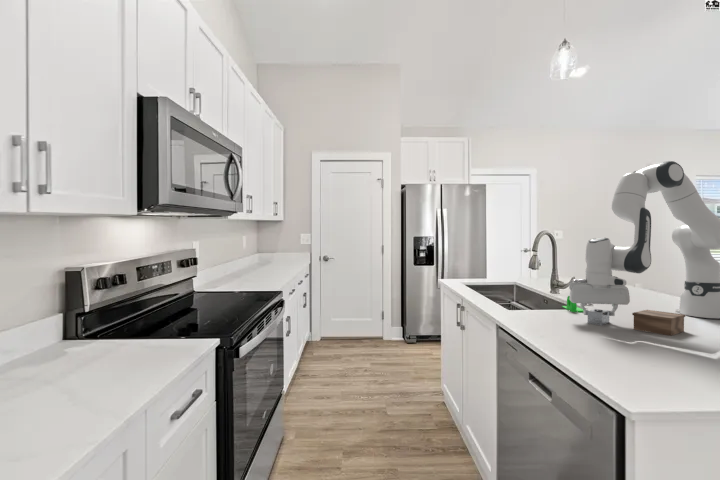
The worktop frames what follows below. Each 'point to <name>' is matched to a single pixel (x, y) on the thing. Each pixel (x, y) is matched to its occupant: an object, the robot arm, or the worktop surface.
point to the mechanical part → (572, 306)
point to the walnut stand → (659, 322)
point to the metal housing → (598, 317)
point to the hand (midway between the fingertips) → (598, 315)
